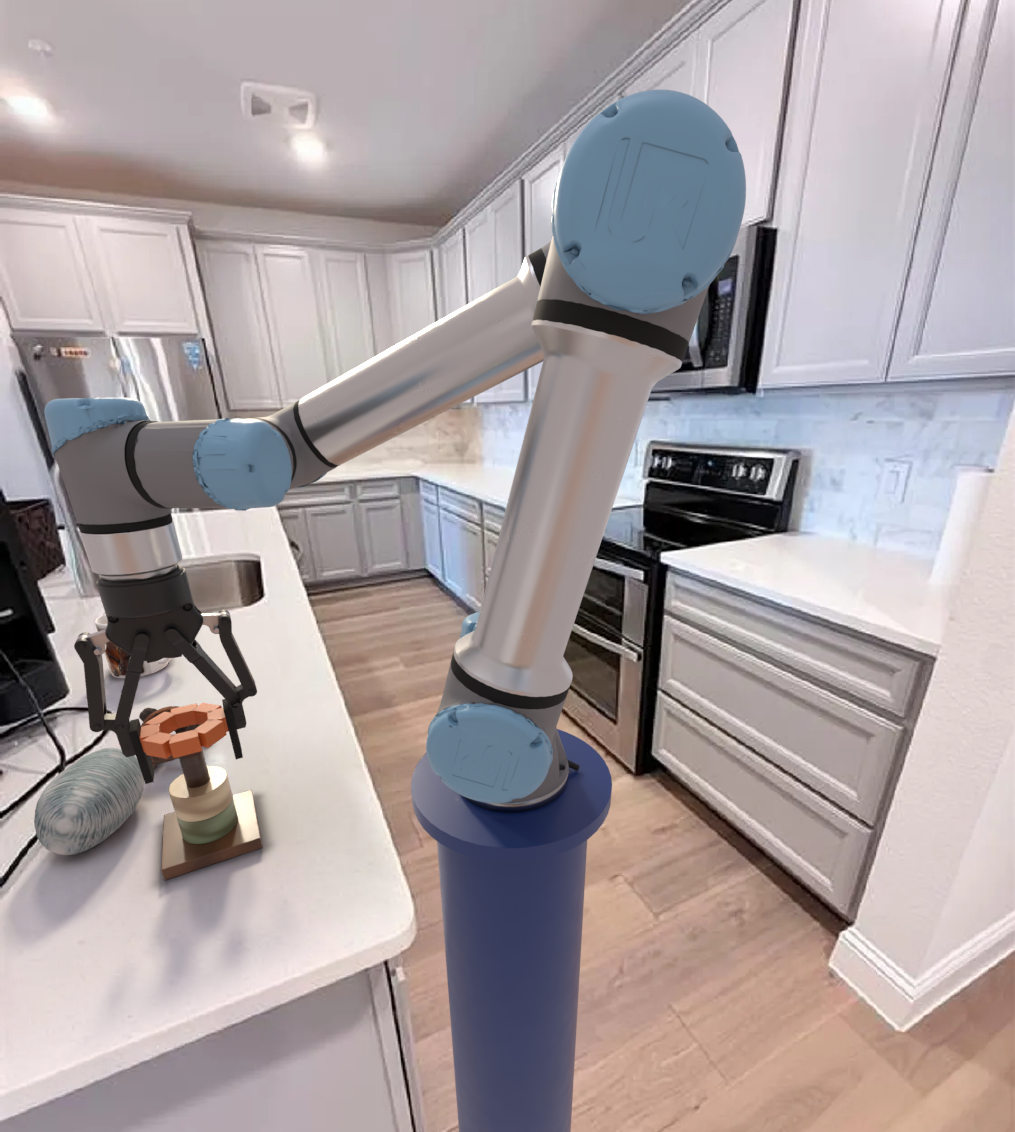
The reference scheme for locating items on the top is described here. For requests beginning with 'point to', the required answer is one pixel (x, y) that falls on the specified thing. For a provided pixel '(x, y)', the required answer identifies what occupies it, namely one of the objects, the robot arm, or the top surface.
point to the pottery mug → (151, 713)
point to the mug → (124, 656)
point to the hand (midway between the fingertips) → (195, 763)
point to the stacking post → (206, 819)
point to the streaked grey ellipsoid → (88, 801)
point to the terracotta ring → (165, 744)
